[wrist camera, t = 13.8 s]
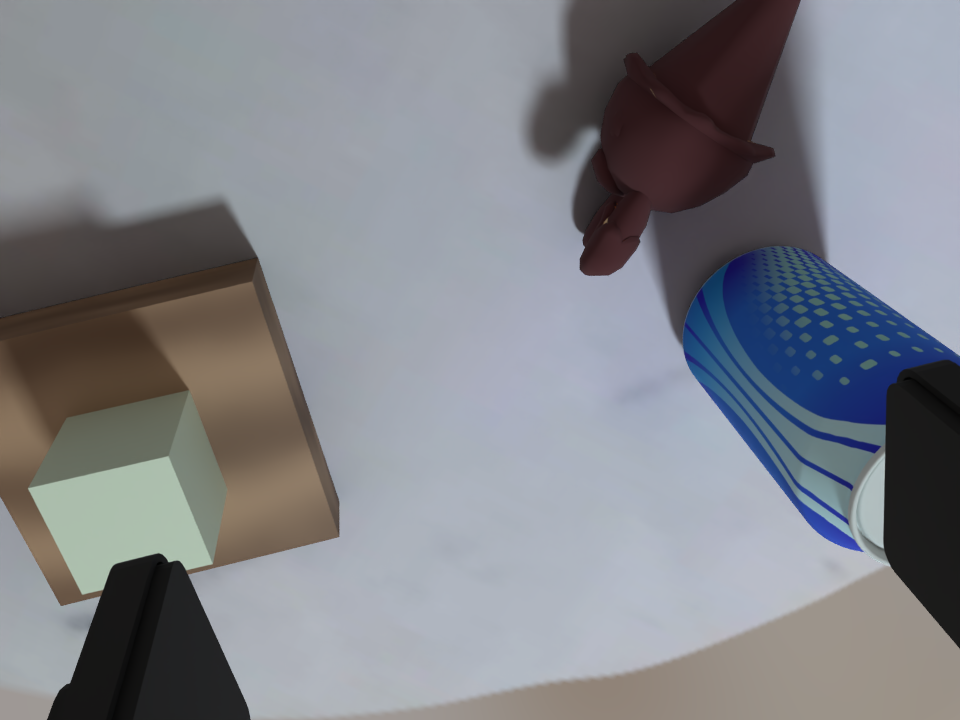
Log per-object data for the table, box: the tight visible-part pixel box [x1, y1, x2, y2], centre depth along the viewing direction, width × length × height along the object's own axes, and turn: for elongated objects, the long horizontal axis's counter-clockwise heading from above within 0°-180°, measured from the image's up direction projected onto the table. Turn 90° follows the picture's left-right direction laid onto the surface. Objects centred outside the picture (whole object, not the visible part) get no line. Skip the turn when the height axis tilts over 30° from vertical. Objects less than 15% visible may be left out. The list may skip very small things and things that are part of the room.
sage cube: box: [28, 390, 227, 595], centre depth 38 cm, size 6×6×6 cm
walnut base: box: [0, 258, 339, 606], centre depth 42 cm, size 14×14×3 cm
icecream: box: [580, 0, 801, 276], centre depth 37 cm, size 7×7×15 cm
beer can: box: [683, 246, 960, 567], centre depth 38 cm, size 8×8×16 cm
